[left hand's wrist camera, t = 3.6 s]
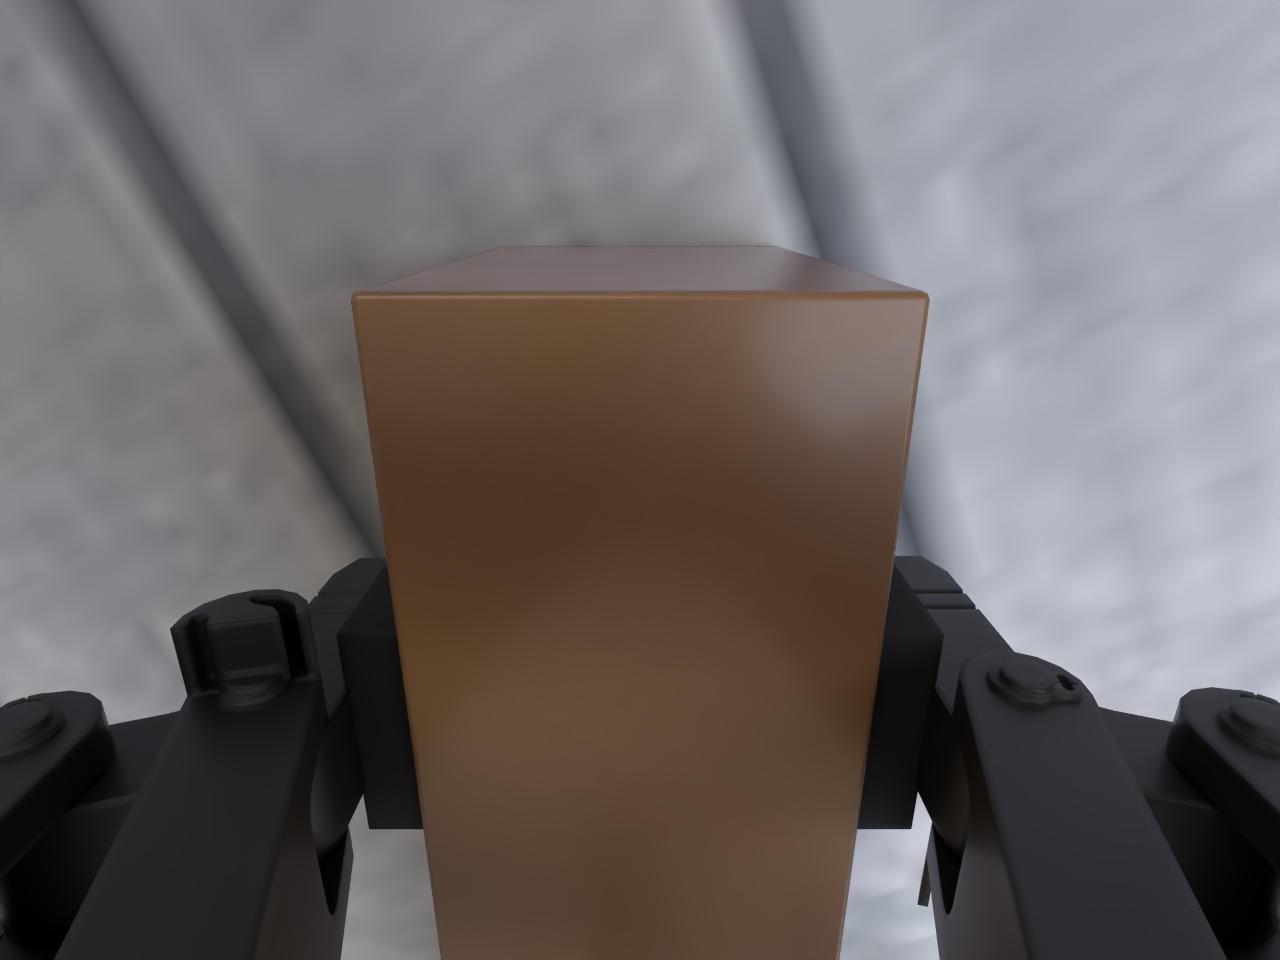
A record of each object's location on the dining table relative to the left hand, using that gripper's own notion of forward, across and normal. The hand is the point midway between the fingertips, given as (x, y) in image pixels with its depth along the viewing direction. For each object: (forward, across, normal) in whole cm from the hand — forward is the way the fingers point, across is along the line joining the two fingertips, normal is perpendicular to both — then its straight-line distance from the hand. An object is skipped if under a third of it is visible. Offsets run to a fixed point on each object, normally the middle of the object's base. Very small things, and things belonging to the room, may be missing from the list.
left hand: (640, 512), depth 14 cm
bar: (+1, 0, -21) cm, 21 cm away
